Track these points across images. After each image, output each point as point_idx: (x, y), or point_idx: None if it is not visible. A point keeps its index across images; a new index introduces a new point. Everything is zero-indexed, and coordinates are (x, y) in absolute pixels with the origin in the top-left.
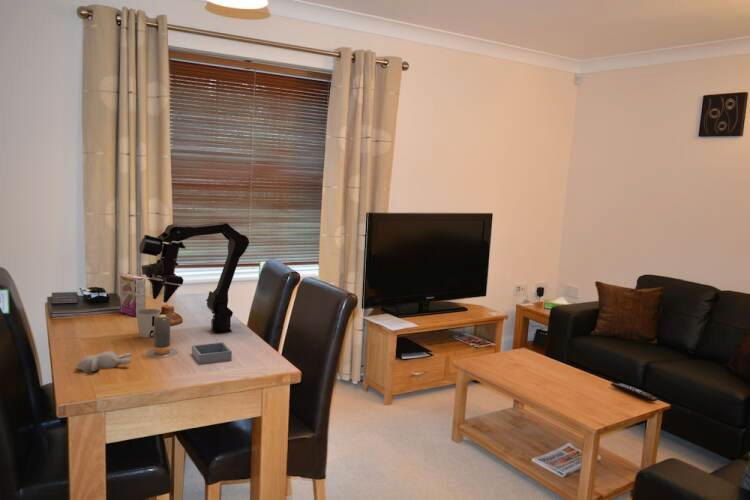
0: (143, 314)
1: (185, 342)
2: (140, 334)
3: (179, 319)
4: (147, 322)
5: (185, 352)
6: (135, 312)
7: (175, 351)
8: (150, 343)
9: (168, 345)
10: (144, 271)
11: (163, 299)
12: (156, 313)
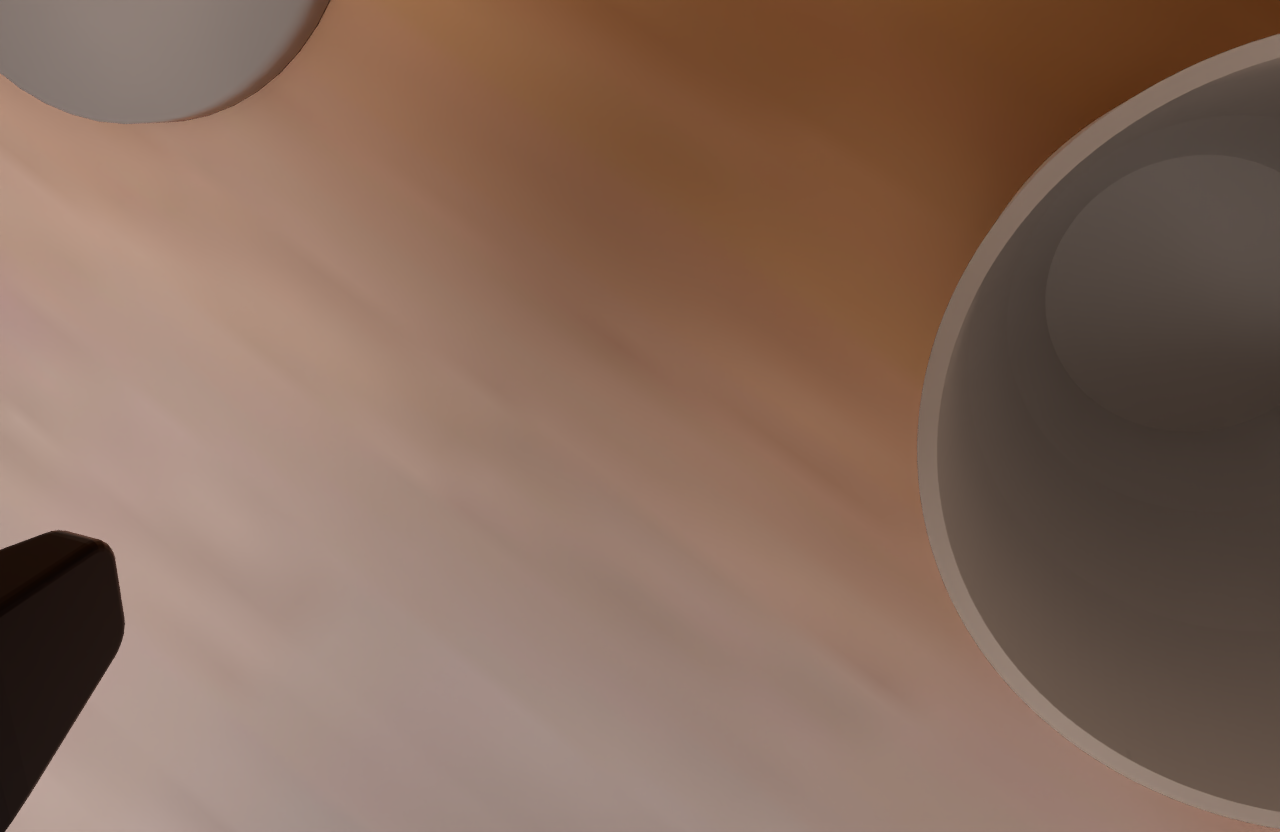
0: (1144, 93)
1: (478, 552)
2: (1268, 119)
3: None
4: (1027, 180)
5: (82, 236)
6: None
7: (45, 68)
8: (836, 104)
9: None
10: None
11: (11, 589)
12: (922, 489)
